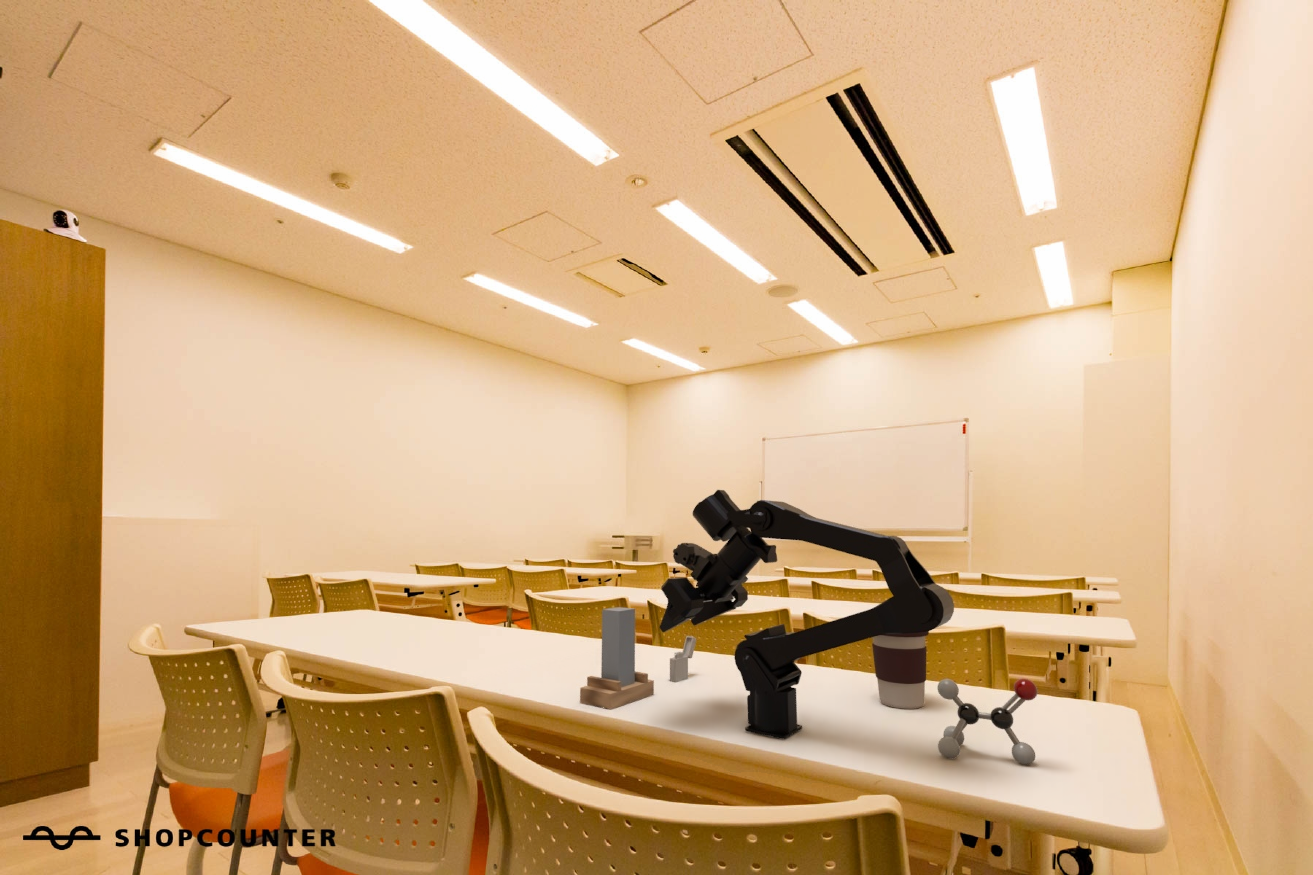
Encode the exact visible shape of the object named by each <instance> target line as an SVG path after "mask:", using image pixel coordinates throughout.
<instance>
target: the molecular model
mask: <svg viewBox="0 0 1313 875" xmlns="http://www.w3.org/2000/svg"><path fill="white" fill-rule="evenodd" d="M1013 690H1014V694H1013V696H1011V698H1009V699H1008V700H1007V702H1005V703H1004V705H1002V707H1000V706H999V707H995V708H993V709H992V710H991V712H989V713H988V712H982V711H979V709H978V708H977V707H976V706H975V705H974V704H972V703H970V702H963V701H962V700H961V699H960V697H959V696H958V695H959V691H960V690H959V686H958V684H957V683H956V682H955V681H954V680H952V679H950V678H944V679H942V680H941V679H940V681H939V682H938V684H937V692H938V694H939V695H940V697H942V699H945V700H948V701H950V700H951V701H953V702H954V703H955V704H956V705H957V706H958V708H957V716H958V718H959V720H958V722H957V723H956V725H948V726H946V727H945V729H944V730H943V734H942V735H943V737H941V738H940V739H939V741H938V743H937V750H938V751H939V753H940V754H941V755H942V757H943V758H945V759H947V760H948V759H949V760H954V759H956V758H958V757H959V755H960V753H961V747H960V746H962V745H963V744H964V743H965V742H964V741H965V735H964V732H963V731H964V730H965V728H966V727H967V726H968V725H975V724H976V723H978V721H979V720H980V719H981V720H982V719H983V720H989V721H991V723H992V724H993V725H994V726H995V727H996V728H998V729H1000V730H1004V731H1005V733H1006V735H1007V736H1008V738H1009V739H1010V741H1011V742H1012V744H1013V745H1012V747H1011V755H1012V757H1013V759H1014V760H1015V761H1016V762H1017V763H1018V764H1021V765H1023V766H1028V765H1031V764H1033V763H1034V762H1035V760H1036V752H1035V750H1034V748H1033V747H1032V745H1030V744H1028V743H1027V742H1023V741H1020V740H1019V738H1018V737H1017V735H1016V734H1015V732H1014V731H1013V729H1012V728H1011V727H1012V726H1013V724H1014V716H1013V713H1014V712H1016V710H1017V709H1018V708H1020V706H1022V705H1023V704H1024V703H1025V702H1026V701H1027V702H1029V701H1033V700H1035V698H1037V695H1038V691H1039V690H1038V688H1037V685H1036V684H1035V682H1034V681H1032V680H1030V679H1028V678H1020V679H1017V680H1016V681H1015V682H1014V685H1013Z"/></svg>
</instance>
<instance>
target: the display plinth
mask: <svg viewBox="0 0 1313 875" xmlns="http://www.w3.org/2000/svg"><path fill="white" fill-rule="evenodd" d="M586 678H587V680H586V685H585V686H582V687H580V688H579V689H580V690H579V691H580V692H579V703H580V704H584V705H588V706H592V705H593V706H592V707H596V708H597V707H598V708H601V707H604V708H603V709H606V708H607V710H613V709H617V708H619V707H623V706H624V705H628V704H631V703H634V702H637V701H640V700H642V699H646V698H648V697H652V696H654V695H655V694H654V693H655V692H654V691H655V690H654V686H655V684H654V683H655V682H654V681H655V680H653V679H649V673H646V672H642V671H641V672H639V671H635V683H634V684H631V685H627V686H624V687H621V681H616V680H611V679H605V678H601V677H599V676H594V675H589V676H586ZM616 707H617V708H616Z"/></svg>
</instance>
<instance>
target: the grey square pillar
mask: <svg viewBox="0 0 1313 875" xmlns="http://www.w3.org/2000/svg"><path fill="white" fill-rule="evenodd" d="M601 612H602V613H601V667H600V668H601V673H600V674H601V677H600V678H605V679H611V680H616V681H621V687H624V686H627V685H631V684H634V683H635V672H636V670H635V669H636V667H635V666H636V665H635V664H636V608H630V607H619V606H617V607H609V608H604V609H602V610H601Z"/></svg>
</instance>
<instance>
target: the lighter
mask: <svg viewBox="0 0 1313 875" xmlns="http://www.w3.org/2000/svg"><path fill="white" fill-rule="evenodd" d="M696 644H697V638H696V637H694V636H692V635H686V637H685V640H684V645H683V649H682V651H677V652H674V657H671V658H669V681H670V682H672V683H673V682H674V683H678V682H682V681H685V680H688V679H689V659H692V658H693V655H694V651H695V648H696Z"/></svg>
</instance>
